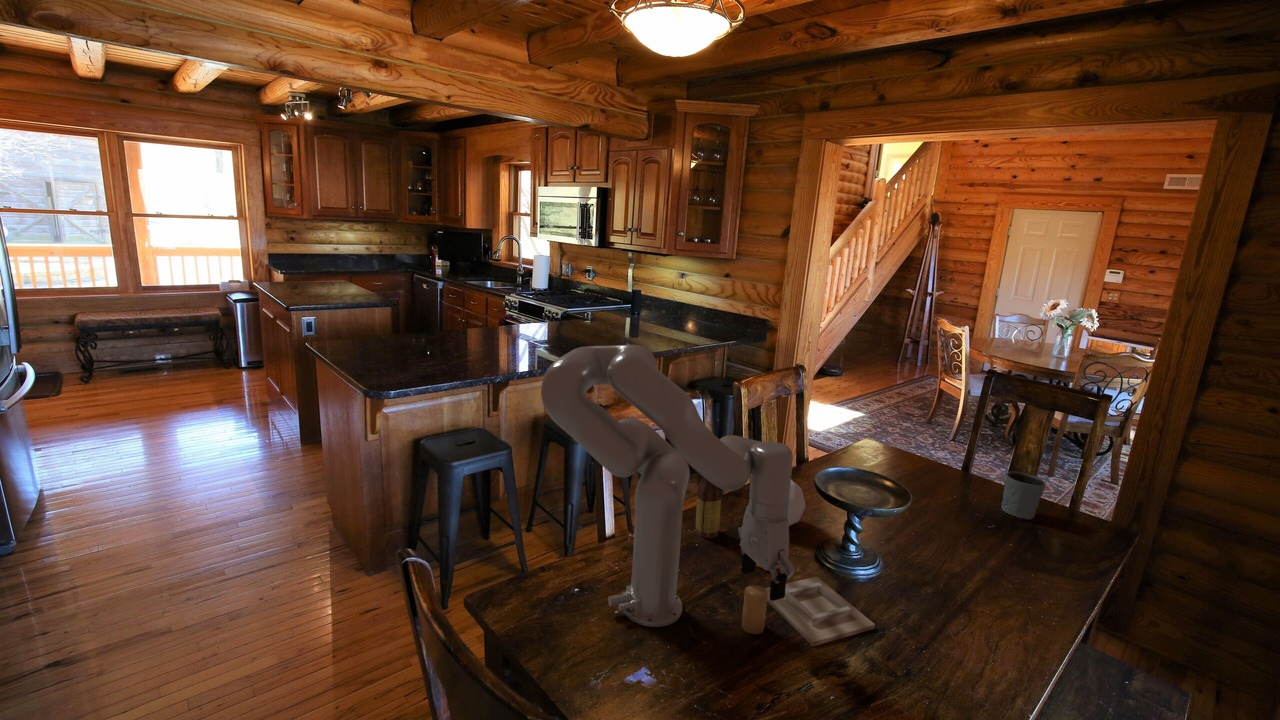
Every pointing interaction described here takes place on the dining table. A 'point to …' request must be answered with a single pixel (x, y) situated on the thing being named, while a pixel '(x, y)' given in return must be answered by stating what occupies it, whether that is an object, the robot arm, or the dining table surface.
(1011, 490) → the gray cup
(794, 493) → the geodesic sphere
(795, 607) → the grey square framed plate
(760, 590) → the tan rounded oblong piece
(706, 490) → the sauce bottle
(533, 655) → the dining table surface
